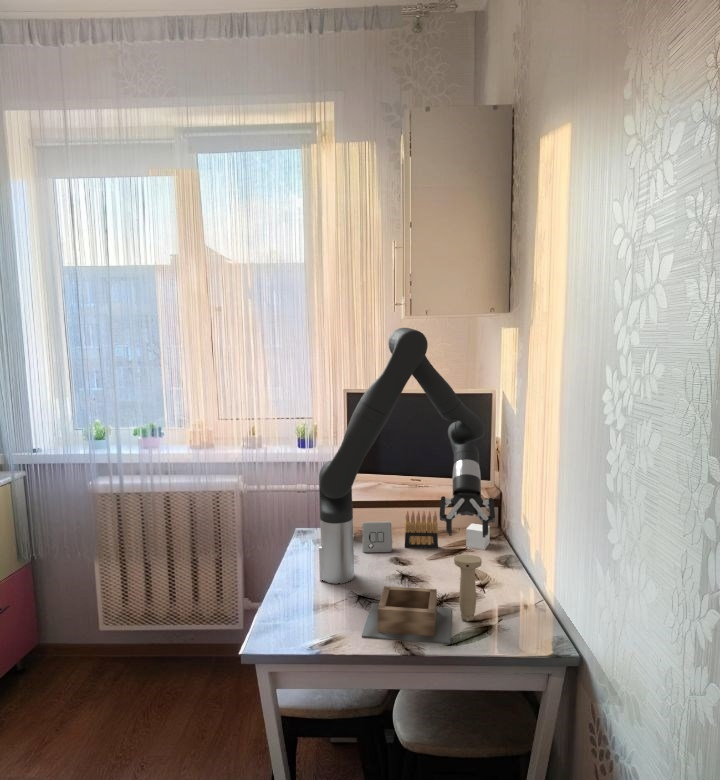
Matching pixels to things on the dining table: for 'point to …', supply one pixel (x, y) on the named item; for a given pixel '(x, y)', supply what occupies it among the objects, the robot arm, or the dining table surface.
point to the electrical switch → (377, 536)
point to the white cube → (477, 537)
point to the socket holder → (408, 616)
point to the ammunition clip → (421, 531)
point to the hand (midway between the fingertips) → (467, 535)
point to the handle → (467, 584)
